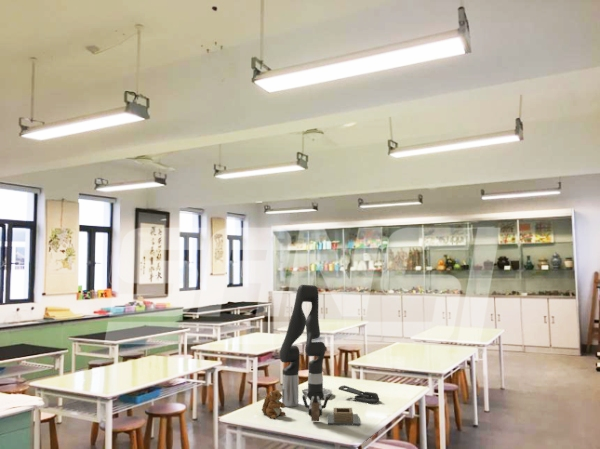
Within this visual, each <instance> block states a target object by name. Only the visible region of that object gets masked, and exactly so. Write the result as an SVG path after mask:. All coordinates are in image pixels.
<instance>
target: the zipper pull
mask: <svg viewBox="0 0 600 449" xmlns="http://www.w3.org/2000/svg"><path fill="white" fill-rule="evenodd" d="M338 390H340V391H343V392H346V393H350V394H352V395H353V394H354V395H355V396H354V402H358V403H363V404H367V403H368V404H367V405H377V404H379V403H380V397H379V394H378V393H377V392H370V391H364V390H363V391H362V390H359V389H356V388H354V387H350V386H347V385H340V386H339V387H338ZM376 403H377V404H376Z"/></svg>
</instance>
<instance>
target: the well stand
mask: <svg viewBox="0 0 600 449" xmlns="http://www.w3.org/2000/svg"><path fill="white" fill-rule="evenodd" d="M326 417H327V425H328V426H361V422H360V417H359V414H358V413H354V412H353V408H352V407H333V413H327V416H326Z"/></svg>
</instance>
